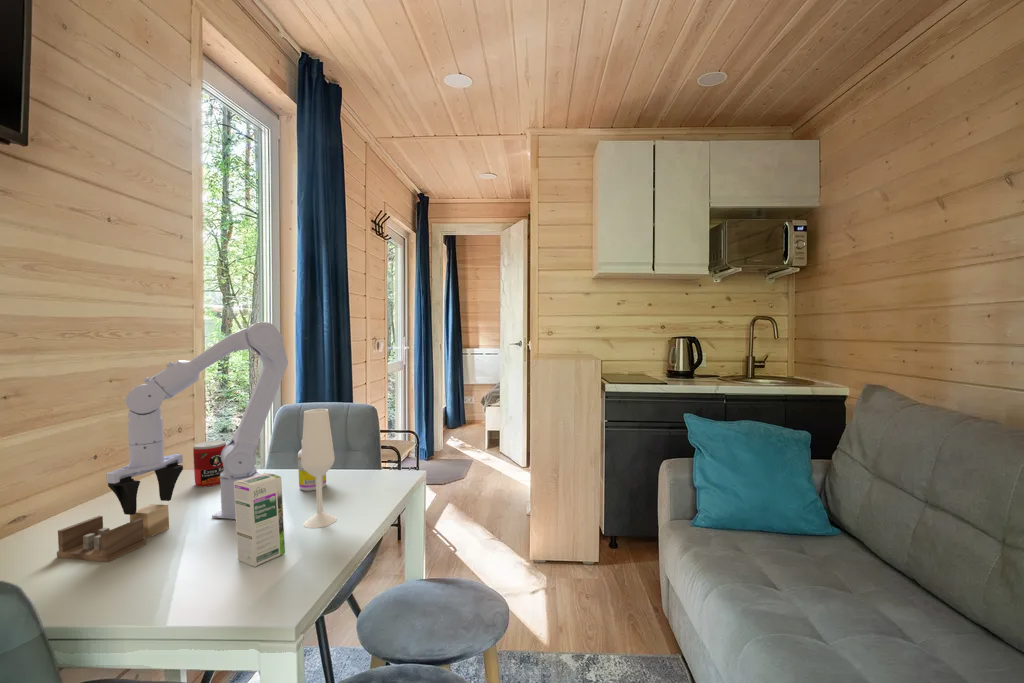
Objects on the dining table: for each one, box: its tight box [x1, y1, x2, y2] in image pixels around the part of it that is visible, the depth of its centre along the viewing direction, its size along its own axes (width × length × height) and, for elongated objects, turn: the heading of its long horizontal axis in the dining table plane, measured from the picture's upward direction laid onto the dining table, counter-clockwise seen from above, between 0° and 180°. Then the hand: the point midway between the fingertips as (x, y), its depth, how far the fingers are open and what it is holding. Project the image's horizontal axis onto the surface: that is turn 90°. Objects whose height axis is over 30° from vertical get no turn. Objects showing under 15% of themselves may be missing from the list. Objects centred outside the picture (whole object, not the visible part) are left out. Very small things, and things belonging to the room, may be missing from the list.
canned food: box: [192, 439, 227, 488], centre depth 128 cm, size 8×8×11 cm
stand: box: [56, 515, 147, 563], centre depth 88 cm, size 12×7×5 cm, turn 78°
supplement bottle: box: [297, 439, 327, 492], centre depth 122 cm, size 7×7×13 cm
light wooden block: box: [129, 503, 170, 538], centre depth 96 cm, size 4×4×5 cm
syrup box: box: [234, 472, 286, 568], centre depth 83 cm, size 6×6×14 cm
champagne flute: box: [301, 408, 337, 529], centre depth 99 cm, size 7×7×24 cm
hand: (148, 506), depth 96 cm, fingers open, 7 cm apart
